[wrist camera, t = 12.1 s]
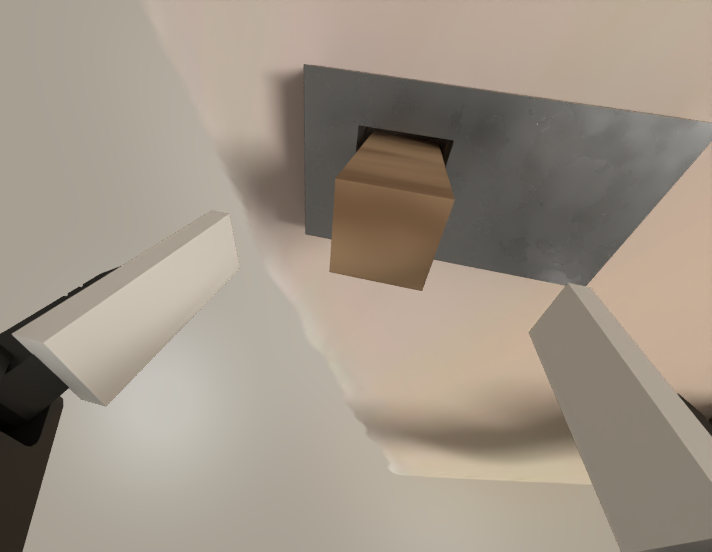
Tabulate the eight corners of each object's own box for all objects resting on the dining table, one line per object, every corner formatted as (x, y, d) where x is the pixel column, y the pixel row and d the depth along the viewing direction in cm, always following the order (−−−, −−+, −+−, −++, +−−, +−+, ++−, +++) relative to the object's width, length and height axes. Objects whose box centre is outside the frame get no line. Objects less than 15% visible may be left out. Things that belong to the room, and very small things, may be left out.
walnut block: (420, 203, 23) (421, 291, 14) (365, 193, 24) (329, 271, 14) (437, 141, 20) (454, 199, 11) (373, 131, 20) (335, 178, 11)
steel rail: (567, 268, 24) (583, 289, 22) (315, 219, 26) (305, 234, 24) (682, 118, 17) (725, 125, 14) (318, 65, 19) (303, 64, 16)
